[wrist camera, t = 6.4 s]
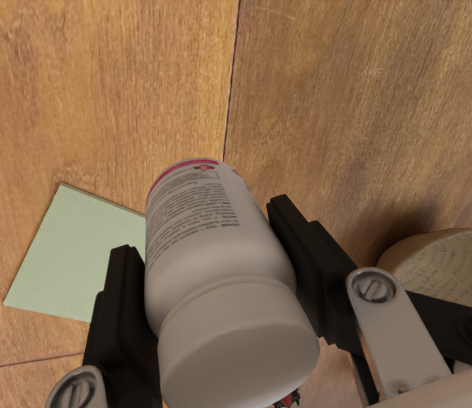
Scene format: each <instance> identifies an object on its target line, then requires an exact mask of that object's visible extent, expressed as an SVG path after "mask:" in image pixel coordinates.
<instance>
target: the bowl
mask: <svg viewBox="0 0 472 408" xmlns="http://www.w3.org/2000/svg"><path fill="white" fill-rule="evenodd" d="M376 268H381V269H383V270H386V271H388V272H390V273H391V274H392V275H394V276H395V277H396V278H397V279H398V280H399V282H400V283H401V285H402V286H403V288H404V290H407V291H411V292H415V293H419V294H423V295H427V296H431V297H434V298H438V299H442V300H446V301H450V302H454V303H458V304H461V305H465V306H469V307H472V228H450V229H445V230H439V231H435V232H430V233H425V234H418V235H414V236H411V237H408V238H405V239H403V240H401V241H399V242H397V243H396V244H394V245H392V246H391V247H390V248H388V249H387V250H386V251H385V252H384V253H383V254H382V255H381V257H380V259H379V261H378V264H377V267H376Z"/></svg>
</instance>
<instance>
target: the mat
mask: <svg viewBox="0 0 472 408" xmlns="http://www.w3.org/2000/svg"><path fill="white" fill-rule="evenodd" d="M145 239H146V216H145V215H142V214H140V213H138V212H135V211H133V210H130V209H128V208H125V207H123V206H120V205H118V204H115V203H113V202H110V201H108V200H105V199H103V198H100V197H98V196H95V195H93V194H90V193H88V192H85V191H83V190H80V189H78V188H75V187H73V186H70V185H68V184H65V183H63V182H62V183H61V184H60V186H59V188H58V190H57V192H56V194H55V196H54V198H53V200H52V203H51V205H50V207H49V209H48V211H47V213H46V215H45V217H44V219H43V221H42V223H41V225H40V227H39V229H38V232H37V234H36V236H35V238H34V240H33V242H32V244H31V246H30V248H29V250H28V252H27V254H26V256H25V258H24V261H23V263H22V265H21V267H20V269H19V271H18V273H17V275H16V277H15V279H14V281H13V283H12V285H11V287H10V290H9V292H8V294H7V296H6V298H5V300H4V302H3V304H2V305H5V306H10V307H15V308H20V309H25V310H30V311H35V312H40V313H45V314H50V315H55V316H60V317H65V318H70V319H75V320H80V321H85V322H90V323H91V318H92V313H93V308H94V303H95V298H96V295H97V294H98V292H100V291H103V290H104V284H105V279H106V273H107V268H108V262H109V256H110V251H111V249H113V248H116V247H119V246H122V245H126V244H128V245H129V246H130V247H133V246H135V247H136V248H137V250H138V252H139V254H140V256H141V258H142V259H143V261H144V263H145Z"/></svg>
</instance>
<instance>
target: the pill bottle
mask: <svg viewBox="0 0 472 408" xmlns="http://www.w3.org/2000/svg"><path fill="white" fill-rule="evenodd" d="M296 289H297V280H296V274H295V270H294V267H293V264H292V262H291V260H290V258H289V256H288V254H287V253H286V251H285V249H284V247H283V246H282V244H281V242H280V240H279V239H278V237H277V236H276V234H275V232H274V231H273V229H272V227H271V225H270V224H269V222H268V220H267V219H266V217H265V215H264V214H263V212H262V210H261V209H260V207H259V205H258V204H257V202H256V200H255V198H254V197H253V195H252V193H251V191H250V190H249V188H248V186H247V185H246V183H245V181H244V180H243V178H242V177H241V176H240V175H239V174H238V173H237V172H236V171H235V170H234V169H233V168H232V167H230V166H229V165H227V164H226V163H224V162H221V161H219V160H215V159H211V158H190V159H185V160H182V161H179V162H177V163H175V164H173V165H171V166H170V167H168V168H167V169H166V170H164V171H163V172H162V173H161V174H160V175H159V176H158V177H157V178H156V180H155V181H154V183H153V184H152V186H151V188H150V190H149V193H148V196H147V202H146V239H145V281H144V305H145V314H146V318H147V321H148V324H149V326H150V328H151V330H152V331H153V333H154V334H155V335H156V337H157V338H158V339H159V342H158V348H157V351H158V361H159V372H160V389H161V394H162V398H163V400H164V402H165V404H166V405H167V406H168V407H169V408H265V407H267V406H269V405H271V404H273V403H275V402H277V401H279V400H281V399H282V398H284V397H285V396H287V395H288V394H290V393H291V392H292V391H294V390H295V389H296V388H297V387H299V386H300V385H301V384H302V383H303V382H304V381H305V380H306V378H307V377H308V376H309V375H310V374H311V372H312V371H313V369H314V368H315V366H316V364H317V361H318V358H319V354H320V345H319V341H318V338H317V335H316V333H315V331H314V329H313V327H312V326H311V324H310V322H309V320H308V318H307V316H306V314H305V312H304V310H303V308H302V307H301V305H300V303H299V301H298V300H297V297H296V296H295V295H296Z"/></svg>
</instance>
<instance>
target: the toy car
mask: <svg viewBox="0 0 472 408" xmlns="http://www.w3.org/2000/svg"><path fill="white" fill-rule="evenodd" d="M299 394H300V393H299V392H298V389H297V388H296V389H295V390H294V391H292V392H291V393H290V394H288V395H287V396H285V397H284V398H282V399H281V400H279V401H277V402H275V403H273V405H274V406H275V408H281V407H288V408H290V406H291V405H292V404H293V403H294V402H295V401H296V403H297V405H298V406H299V399H300V395H299Z"/></svg>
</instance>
